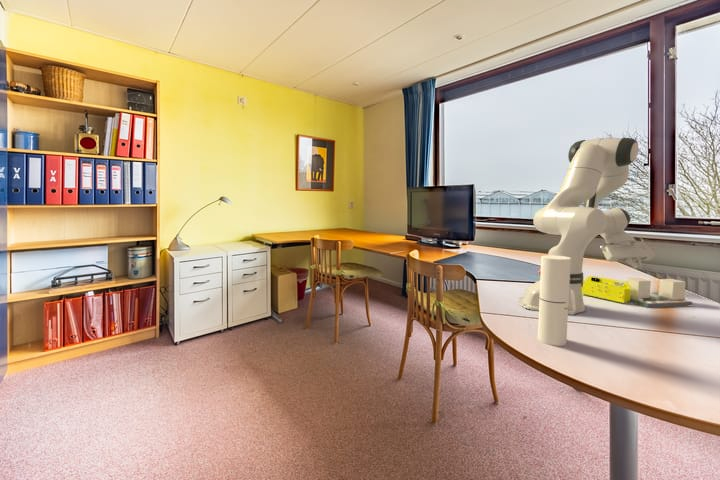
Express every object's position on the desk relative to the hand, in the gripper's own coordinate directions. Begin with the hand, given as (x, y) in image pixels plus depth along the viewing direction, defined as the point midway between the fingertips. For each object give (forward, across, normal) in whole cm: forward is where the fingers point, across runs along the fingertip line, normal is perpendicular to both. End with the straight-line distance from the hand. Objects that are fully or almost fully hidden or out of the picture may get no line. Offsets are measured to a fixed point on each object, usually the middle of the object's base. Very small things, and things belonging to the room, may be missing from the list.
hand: (638, 267), depth 132 cm
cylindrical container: (+37, -68, -21) cm, 81 cm away
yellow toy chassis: (+12, -21, +4) cm, 24 cm away
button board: (+16, -6, -1) cm, 17 cm away
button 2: (+16, 0, -3) cm, 17 cm away
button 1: (+14, -11, -1) cm, 18 cm away
